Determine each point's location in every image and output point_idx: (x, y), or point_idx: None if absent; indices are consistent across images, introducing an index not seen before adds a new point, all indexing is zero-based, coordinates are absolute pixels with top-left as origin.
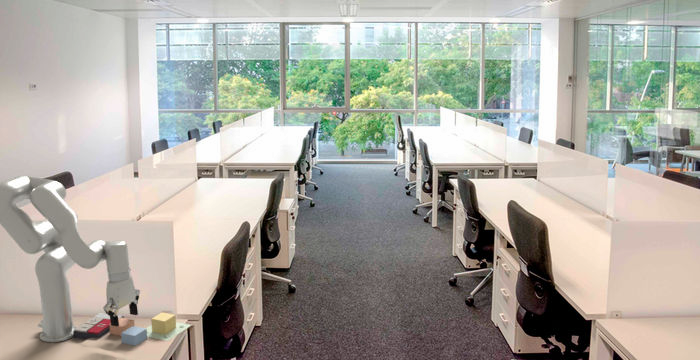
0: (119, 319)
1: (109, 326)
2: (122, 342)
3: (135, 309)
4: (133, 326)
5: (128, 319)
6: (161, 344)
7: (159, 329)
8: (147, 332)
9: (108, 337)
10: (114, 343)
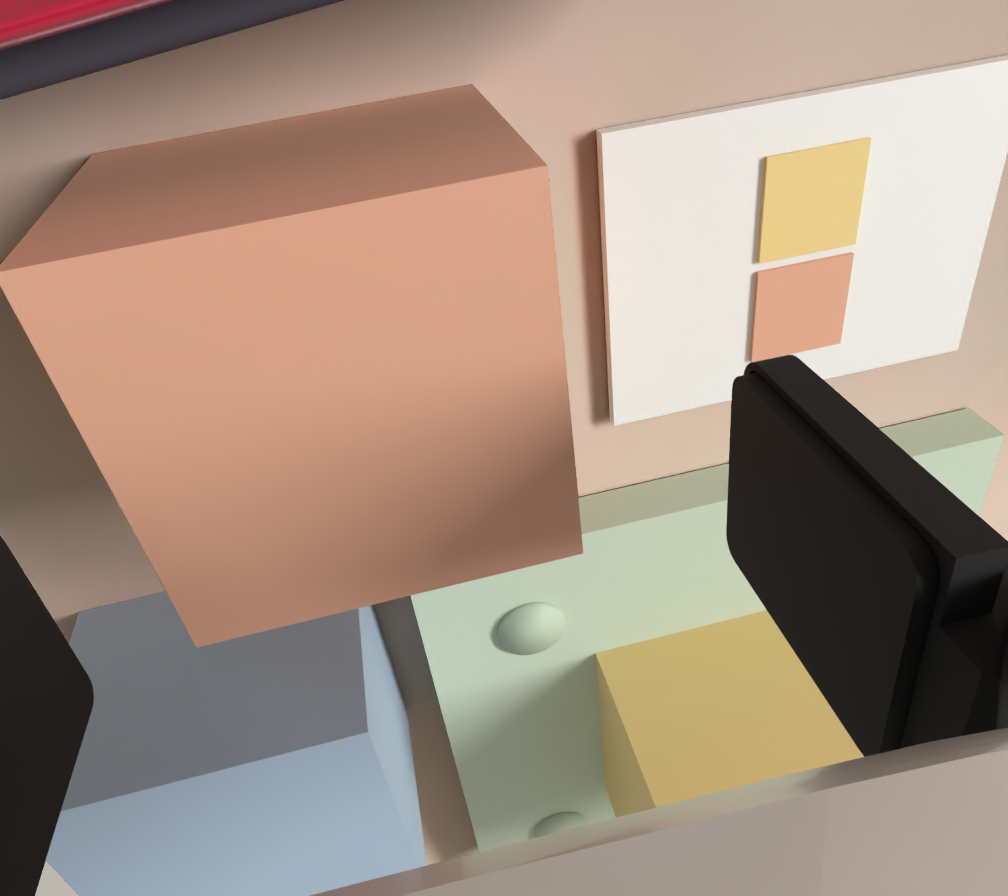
0: (423, 243)
1: (133, 29)
2: None
3: (804, 662)
4: (359, 751)
5: (549, 438)
6: (445, 828)
7: (618, 782)
8: (533, 652)
9: (37, 153)
10: (14, 471)
